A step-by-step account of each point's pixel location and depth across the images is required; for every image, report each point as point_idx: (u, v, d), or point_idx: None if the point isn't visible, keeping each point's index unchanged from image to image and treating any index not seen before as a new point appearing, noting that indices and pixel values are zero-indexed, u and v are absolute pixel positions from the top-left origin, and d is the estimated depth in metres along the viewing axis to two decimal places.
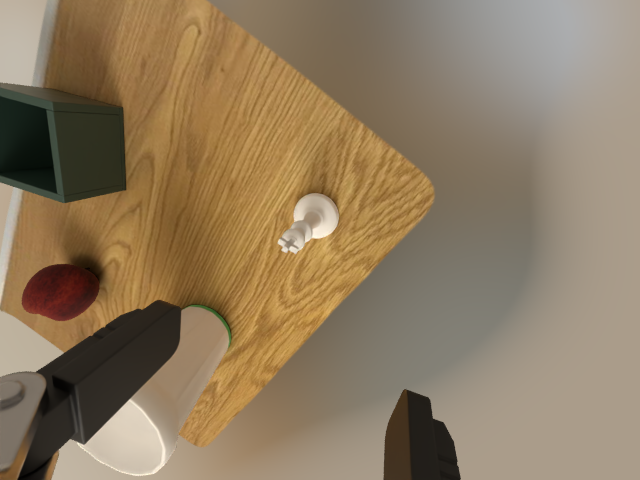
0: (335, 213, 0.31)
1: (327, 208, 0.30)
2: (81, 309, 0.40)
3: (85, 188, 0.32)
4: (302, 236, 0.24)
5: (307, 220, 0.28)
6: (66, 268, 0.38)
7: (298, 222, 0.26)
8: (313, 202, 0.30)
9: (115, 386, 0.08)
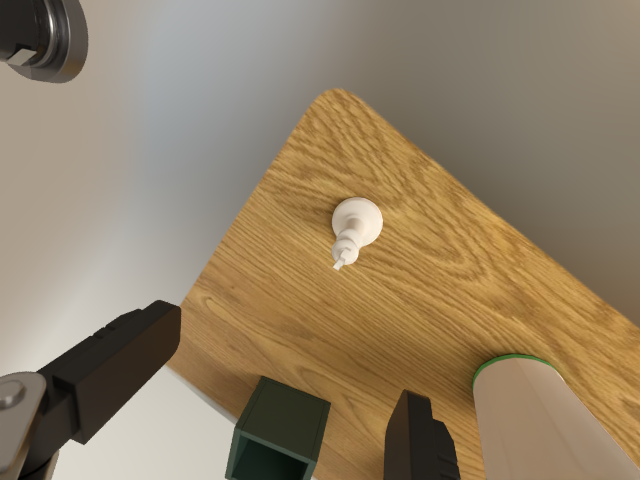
0: (351, 200, 0.28)
1: (345, 209, 0.28)
2: None
3: (312, 437, 0.33)
4: (339, 241, 0.21)
5: None
6: None
7: None
8: (338, 223, 0.28)
9: (115, 386, 0.08)
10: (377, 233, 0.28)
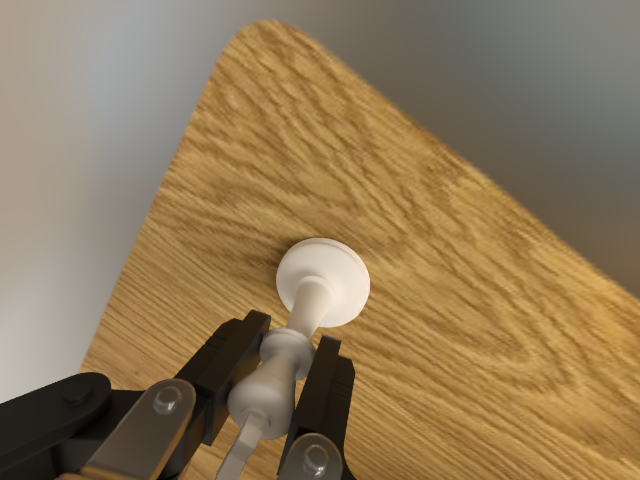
0: (308, 246, 0.14)
1: (296, 262, 0.14)
2: None
3: None
4: (241, 387, 0.08)
5: (288, 321, 0.12)
6: None
7: (262, 357, 0.11)
8: (286, 287, 0.15)
9: None
10: (360, 306, 0.15)
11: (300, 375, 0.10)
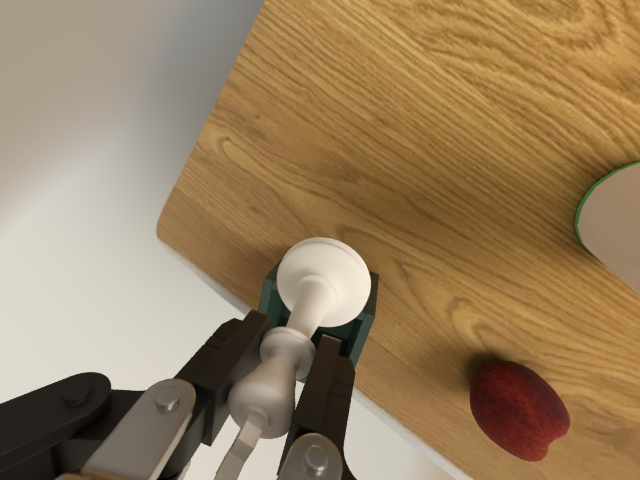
0: (308, 245, 0.14)
1: (297, 261, 0.14)
2: (552, 391, 0.26)
3: None
4: (241, 386, 0.08)
5: (288, 320, 0.12)
6: (476, 383, 0.28)
7: (262, 356, 0.11)
8: (287, 287, 0.15)
9: None
10: (360, 306, 0.15)
11: (301, 375, 0.10)
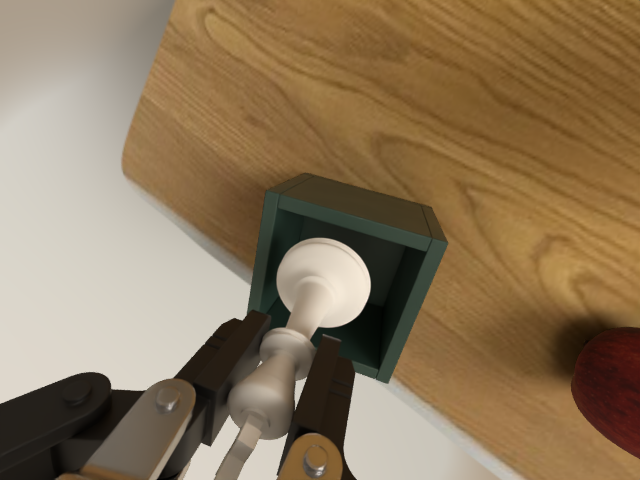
0: (308, 246, 0.14)
1: (296, 262, 0.14)
2: None
3: (420, 222, 0.17)
4: (241, 387, 0.08)
5: (288, 321, 0.12)
6: (590, 360, 0.18)
7: (262, 357, 0.11)
8: (286, 287, 0.15)
9: None
10: (360, 307, 0.15)
11: (301, 375, 0.10)
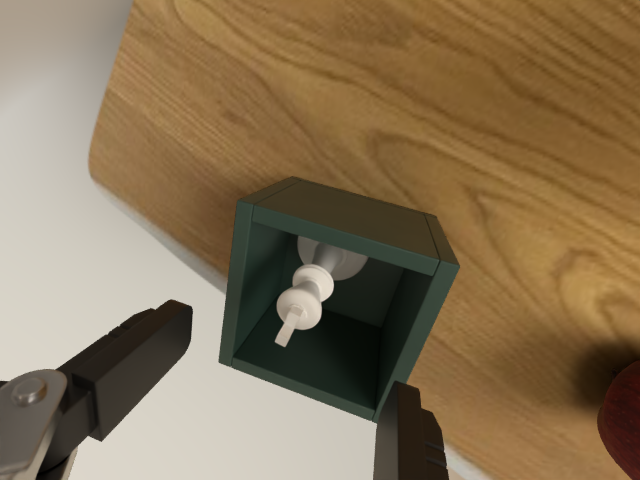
0: None
1: None
2: None
3: (425, 237, 0.14)
4: (286, 292, 0.13)
5: None
6: (623, 397, 0.15)
7: None
8: (306, 250, 0.19)
9: (131, 384, 0.08)
10: (363, 260, 0.19)
11: (323, 297, 0.15)
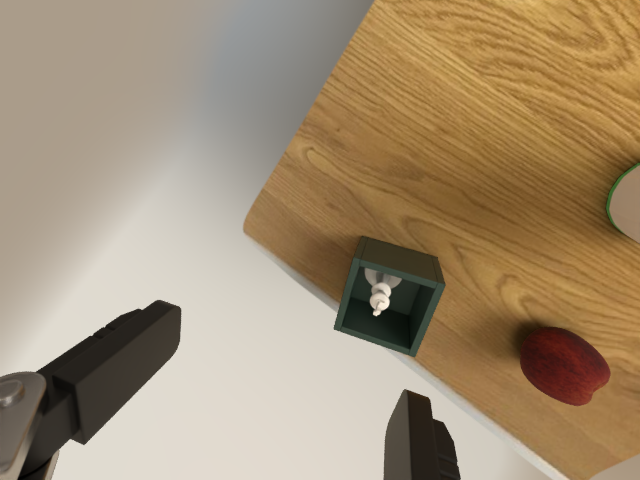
0: None
1: None
2: (594, 348, 0.31)
3: (431, 271, 0.32)
4: (375, 294, 0.31)
5: (376, 283, 0.35)
6: (526, 344, 0.33)
7: (372, 293, 0.33)
8: (369, 273, 0.38)
9: (115, 386, 0.08)
10: (400, 279, 0.37)
11: None
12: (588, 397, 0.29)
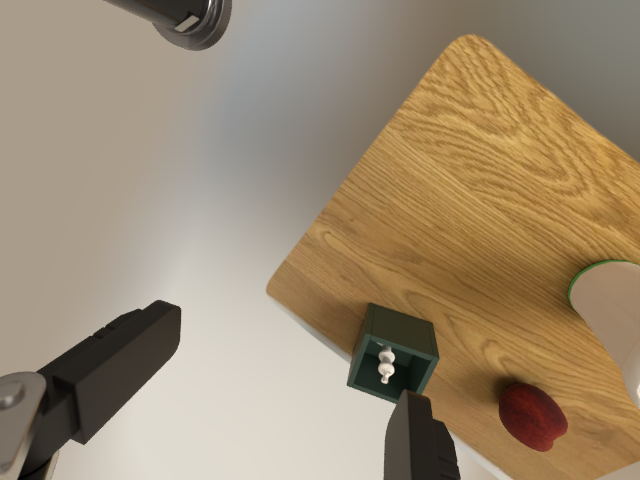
0: None
1: None
2: (555, 405, 0.39)
3: (428, 342, 0.39)
4: (382, 364, 0.38)
5: None
6: (503, 399, 0.41)
7: (379, 358, 0.40)
8: None
9: (115, 386, 0.08)
10: None
11: (390, 362, 0.40)
12: (549, 446, 0.37)
